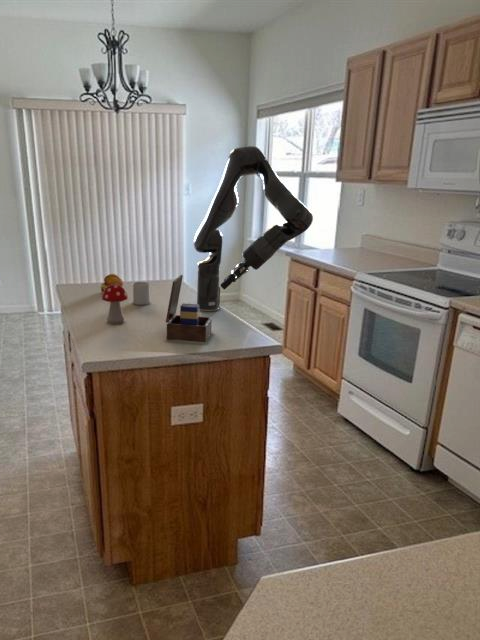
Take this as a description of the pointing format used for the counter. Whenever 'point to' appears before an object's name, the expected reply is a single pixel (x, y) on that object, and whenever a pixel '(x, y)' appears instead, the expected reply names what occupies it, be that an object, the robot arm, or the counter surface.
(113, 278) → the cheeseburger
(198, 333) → the chest
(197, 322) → the cookie packet
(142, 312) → the counter surface
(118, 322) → the decorative mushroom
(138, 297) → the cup
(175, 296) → the lid
